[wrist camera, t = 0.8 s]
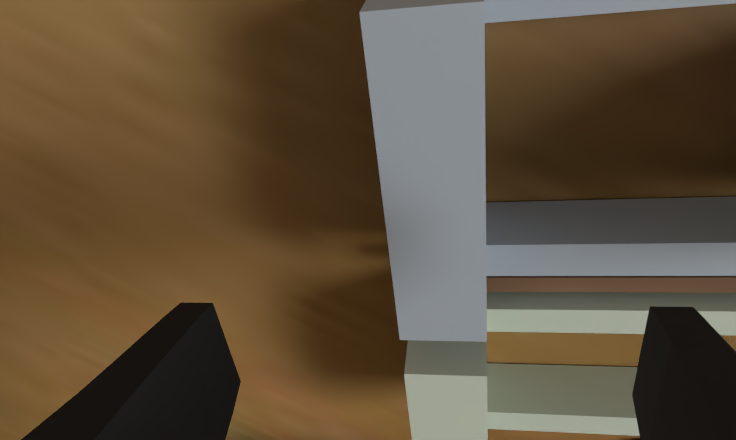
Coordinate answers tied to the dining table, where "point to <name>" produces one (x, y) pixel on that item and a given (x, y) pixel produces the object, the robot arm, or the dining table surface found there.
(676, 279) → the walnut guide
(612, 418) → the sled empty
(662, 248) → the gray rectangular open frame
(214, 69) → the dining table surface
